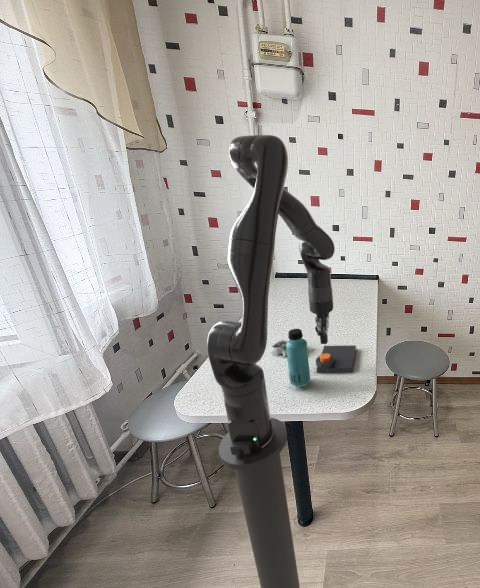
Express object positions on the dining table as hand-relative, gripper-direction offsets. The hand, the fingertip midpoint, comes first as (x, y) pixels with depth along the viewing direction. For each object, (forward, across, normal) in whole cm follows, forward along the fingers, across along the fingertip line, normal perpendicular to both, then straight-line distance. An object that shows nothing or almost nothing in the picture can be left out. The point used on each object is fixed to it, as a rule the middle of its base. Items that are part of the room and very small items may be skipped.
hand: (324, 342), depth 114 cm
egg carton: (+10, -10, -16) cm, 21 cm away
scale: (+10, -4, +4) cm, 11 cm away
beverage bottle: (+10, +10, -6) cm, 16 cm away
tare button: (+7, 0, 0) cm, 7 cm away
